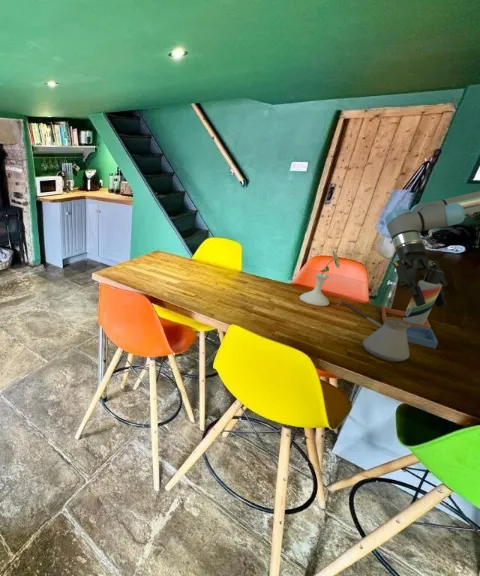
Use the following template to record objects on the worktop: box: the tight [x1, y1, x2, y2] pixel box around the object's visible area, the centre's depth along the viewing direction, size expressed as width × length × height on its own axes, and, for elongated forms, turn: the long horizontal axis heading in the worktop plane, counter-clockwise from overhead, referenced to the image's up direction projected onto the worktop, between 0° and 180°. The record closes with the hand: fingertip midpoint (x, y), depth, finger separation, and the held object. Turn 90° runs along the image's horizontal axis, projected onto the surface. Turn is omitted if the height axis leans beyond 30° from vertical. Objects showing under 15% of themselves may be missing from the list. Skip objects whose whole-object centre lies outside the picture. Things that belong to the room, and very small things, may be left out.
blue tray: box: [382, 321, 439, 350], centre depth 111 cm, size 13×12×2 cm
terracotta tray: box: [380, 306, 432, 329], centre depth 121 cm, size 13×12×2 cm
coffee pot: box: [337, 300, 411, 362], centre depth 100 cm, size 21×12×15 cm, turn 44°
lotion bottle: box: [402, 269, 445, 325], centre depth 106 cm, size 6×6×20 cm
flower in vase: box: [299, 250, 341, 307], centre depth 135 cm, size 13×11×25 cm
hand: (431, 305), depth 103 cm, fingers closed on lotion bottle, 6 cm apart
